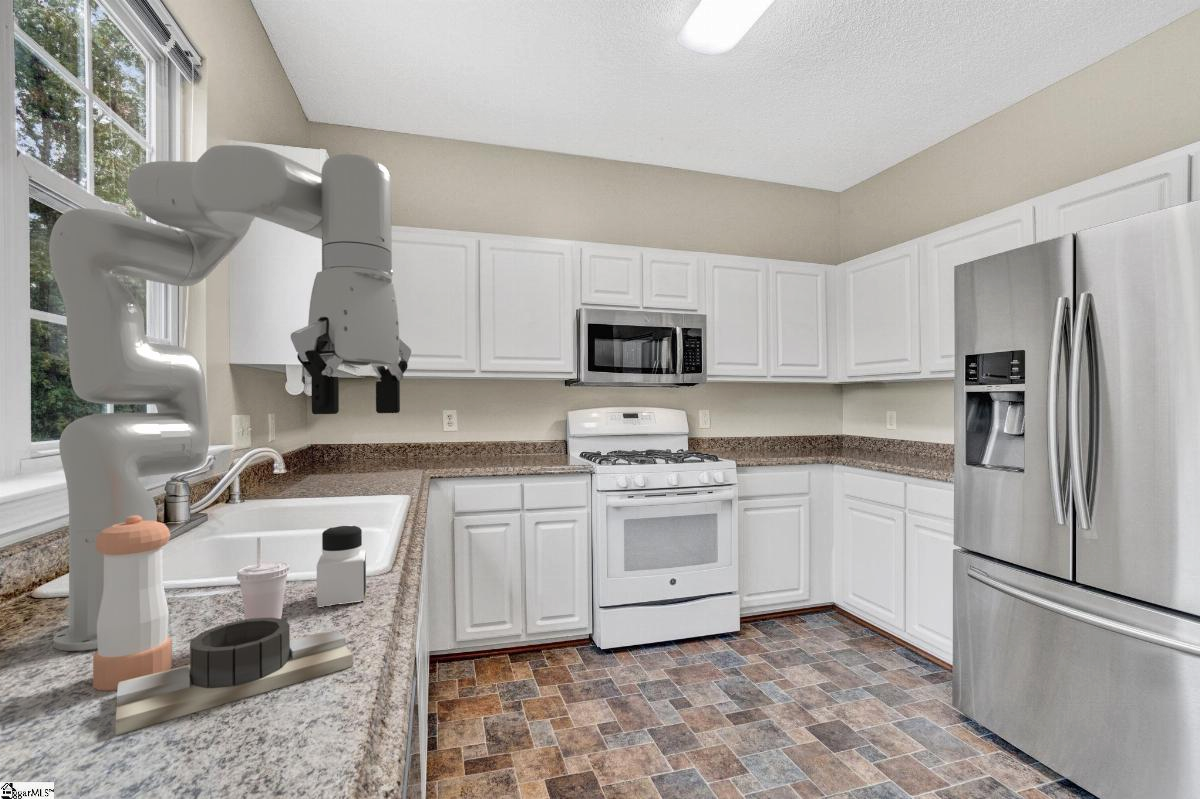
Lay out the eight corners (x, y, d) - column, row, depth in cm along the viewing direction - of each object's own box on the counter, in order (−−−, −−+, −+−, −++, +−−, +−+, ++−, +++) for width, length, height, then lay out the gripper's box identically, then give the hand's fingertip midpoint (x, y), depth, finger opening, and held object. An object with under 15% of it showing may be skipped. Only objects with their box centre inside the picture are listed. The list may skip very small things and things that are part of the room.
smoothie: (243, 632, 79) (242, 534, 80) (293, 625, 82) (293, 530, 82) (231, 650, 73) (230, 544, 74) (286, 642, 76) (285, 539, 76)
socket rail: (115, 735, 54) (115, 678, 54) (118, 695, 62) (118, 646, 62) (352, 666, 68) (352, 621, 68) (331, 640, 76) (331, 600, 76)
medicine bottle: (365, 602, 91) (364, 529, 91) (316, 608, 89) (316, 533, 89) (366, 589, 98) (365, 521, 98) (321, 595, 95) (320, 525, 95)
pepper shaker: (163, 656, 72) (163, 508, 72) (179, 673, 67) (179, 514, 67) (87, 678, 66) (87, 517, 66) (99, 697, 61) (99, 524, 62)
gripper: (383, 285, 74) (384, 413, 74) (267, 251, 58) (268, 415, 58) (430, 280, 72) (432, 412, 71) (322, 243, 55) (323, 414, 55)
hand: (358, 413), depth 65 cm, fingers open, 9 cm apart
